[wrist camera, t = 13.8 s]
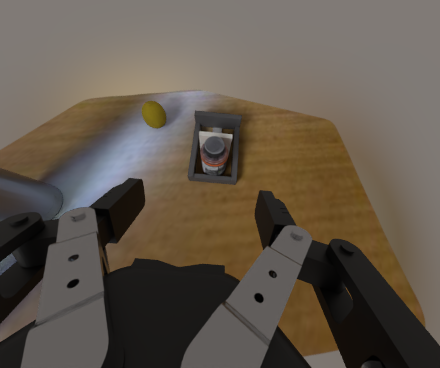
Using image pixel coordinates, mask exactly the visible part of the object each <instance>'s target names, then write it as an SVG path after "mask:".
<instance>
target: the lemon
mask: <svg viewBox="0 0 440 368" xmlns="http://www.w3.org/2000/svg"><path fill="white" fill-rule="evenodd" d="M142 116H143V119H144V121H145V122H146V123H147V124H148V125H149V126H150V127H152V128H161V127H162V126H164V124H165V122H166V113H165V111H164V109H163V107H162V106H161V105H160V104H159V103H157V102H155V101H148V102H146V103H145V104H144V105H143V107H142Z"/></svg>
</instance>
